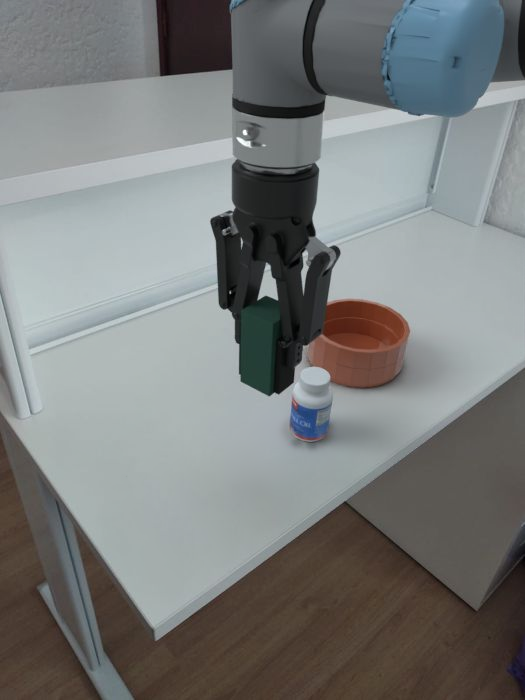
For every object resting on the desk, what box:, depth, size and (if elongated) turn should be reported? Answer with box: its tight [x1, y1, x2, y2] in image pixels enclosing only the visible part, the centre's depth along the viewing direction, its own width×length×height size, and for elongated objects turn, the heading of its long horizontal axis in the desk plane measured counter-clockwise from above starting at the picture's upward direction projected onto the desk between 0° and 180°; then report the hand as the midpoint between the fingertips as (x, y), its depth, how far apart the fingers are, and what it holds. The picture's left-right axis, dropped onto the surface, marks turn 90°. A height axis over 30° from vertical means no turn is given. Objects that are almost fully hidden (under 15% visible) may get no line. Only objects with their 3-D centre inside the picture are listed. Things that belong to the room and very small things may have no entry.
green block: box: [239, 295, 283, 397], centre depth 60 cm, size 4×4×9 cm
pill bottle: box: [289, 366, 334, 443], centre depth 78 cm, size 6×5×10 cm
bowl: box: [306, 298, 411, 389], centre depth 94 cm, size 16×16×7 cm
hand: (266, 377), depth 63 cm, fingers closed on green block, 4 cm apart
